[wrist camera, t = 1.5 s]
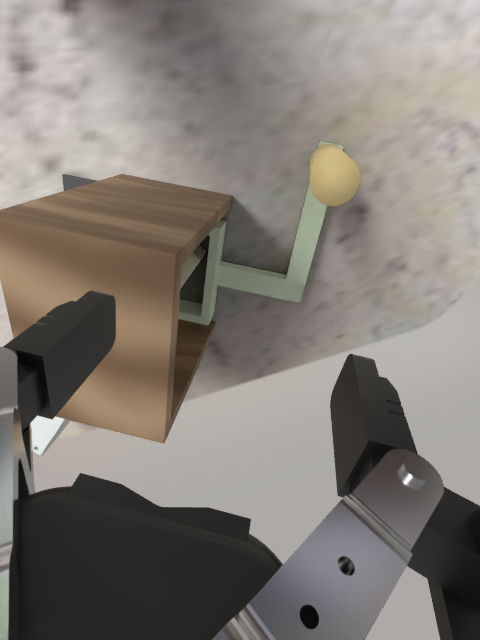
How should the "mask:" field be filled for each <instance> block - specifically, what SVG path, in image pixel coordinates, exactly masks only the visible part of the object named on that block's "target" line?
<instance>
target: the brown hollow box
mask: <svg viewBox="0 0 480 640" xmlns="http://www.w3.org/2000/svg"><path fill="white" fill-rule="evenodd" d="M232 197H233V196H230V195H225V194H220V193H215V192H210V191H205V190H200V189H195V188H190V187H185V186H180V185H175V184H170V183H164V182H159V181H154V180H149V179H144V178H139V177H134V176H129V175H124V174H121V175H117V176H114V177H110V178H107V179H104V180H100V181H97V182H94V183H90V184H87V185H83V186H80V187H77V188H73V189H70V190H67V191H63V192H60V193H56V194H53V195H50V196H46V197H43V198H40V199H36V200H33V201H29V202H26V203H23V204H19V205H16V206H12V207H9V208H6V209H2V210H0V279H1V284H2V288H3V293H4V297H5V302H6V306H7V311H8V315H9V320H10V324H11V329H12V333H13V338H15V337H17V336H18V335H19V334H21V333H22V332H23V331H25V330H26V329H27V328H29V327H30V326H31V325H33V324H34V323H35V324H36V322H37V321H38V320H39V319H40V318H42V317H43V316H44V317H45V315H46V314H47V313H48V312H50V311H51V310H52V309H54V308H55V307H56V306H59V305H61V304H64V303H67V302H69V301H77V300H78V299H79V298H81V297H82V296H83V295H84V294H86V293H87V292H88V291H90V290H92V291H96V292H100V293H105V294H109V295H113V296H114V297H115V301H116V338H115V342H114V345H113V347H112V349H111V350H110V352H109V353H108V354H107V355H106V356H105V358H104V359H103V360H102V361H101V362H100V364H99V365H98V366H97V367H96V368H95V370H94V371H93V372H92V373H91V374H90V375H89V377H88V378H87V379H86V380H85V381H84V383H83V384H82V385H81V386H80V387H79V389H78V390H77V391H76V392H75V393H74V395H73V396H72V397H71V398H70V399H69V401H68V402H67V403H66V404H65V405H64V406H63V408H62V409H61V410H60V411H59V412H58V414H57V415H56V416H55V417H59V418H63V419H67V420H71V421H75V422H79V423H83V424H87V425H92V426H96V427H100V428H104V429H108V430H112V431H116V432H120V433H124V434H128V435H132V436H136V437H140V438H144V439H148V440H152V441H156V442H160V443H165V441H166V438H167V436H168V434H169V431H170V429H171V427H172V424H173V422H174V420H175V418H176V415H177V413H178V411H179V409H180V406H181V404H182V402H183V400H184V397H185V395H186V393H187V391H188V388H189V386H190V384H191V381H192V379H193V377H194V375H195V372H196V370H197V368H198V366H199V363H200V361H201V359H202V356H203V354H204V352H205V350H206V347H207V345H208V343H209V341H210V338H211V336H212V334H213V331H214V327H215V322H211V321H210V323H209V325H203V324H199V323H194V322H190V321H186V320H181V319H178V313H179V300H180V286H181V272H182V264H183V263H184V262H185V261H186V259H187V258H188V257H189V256H190V255H191V254H192V253H193V251H194V250H195V249H196V248H197V247H198V246H199V244H200V243H201V242H202V241H203V240H204V239H205V237H206V236H207V235H208V234H209V233H210V232H211V230H212V229H213V228H214V227H215V226H216V225H217V223H218V222H219V221H220V220H221V219H222V218H223V216H224V215H225V214H226V213H227V212H228V211H229V209H230V208H231V204H232Z"/></svg>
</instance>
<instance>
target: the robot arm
mask: <svg viewBox="0 0 480 640" xmlns="http://www.w3.org/2000/svg"><path fill="white" fill-rule="evenodd" d="M115 338H116V301H115V297H114V296H113V295H109V294H105V293H100V292H96V291H92V290H90V291H88V292H87V293H86V294H84V295H83V296H82V297H81V298H79V299H78V300H77V301H69V302H67V303H64V304H61V305H59V306H56V307H55V308H54V309H52V310H51V311H50V312H48V313H47V314H46V315H45V317H44V316H43V317H42V318H40V319H39V320H38V321H37V322H36V324H35V323H34V324H33V325H31V326H30V327H29V328H27V329H26V330H25V331H23V332H22V333H21V334H19V335H18V336H17V337H15V338H14V339H13V340H11V341H10V342H9V343H8V344H6V345H5V346H4V347H0V640H365V638H366V637H367V635H368V633H369V631H370V630H371V628H372V626H373V624H374V623H375V621H376V619H377V617H378V616H379V614H380V612H381V610H382V608H383V607H384V605H385V603H386V601H387V600H388V598H389V596H390V594H391V593H392V591H393V589H394V587H395V586H396V584H397V582H398V580H399V579H400V577H401V575H402V573H403V572H404V570H405V568H406V566H408V567H410V568H411V569H413V570H415V571H416V572H418V573H419V574H421V575H423V576H424V577H426V578H427V579H428V583H429V588H430V593H431V598H432V602H433V607H434V611H435V616H436V621H437V626H438V631H439V635H440V640H480V506H479V505H477V504H475V503H473V502H471V501H469V500H468V499H466V498H464V497H462V496H460V495H458V494H456V493H454V492H452V491H450V490H449V489H447V488H446V487H444V484H443V481H442V479H441V477H440V475H439V473H438V472H437V470H436V469H435V468H434V467H433V466H432V465H431V464H430V463H429V462H428V461H427V460H425V459H424V458H423V457H421V456H420V455H418V453H417V450H416V448H415V444H414V441H413V438H412V436H411V432H410V430H409V426H408V423H407V420H406V417H404V411H403V408H402V406H401V402H400V399H399V396H398V393H397V391H396V389H395V388H394V387H393V385H392V384H391V383H390V382H389V381H388V379H387V378H383V377H379V375H378V371H377V368H376V364H375V361H374V360H373V359H370V358H366V357H362V356H357V355H353V354H349V355H348V357H347V359H346V361H345V363H344V366H343V368H342V370H341V372H340V375H339V377H338V379H337V382H336V384H335V386H334V389H333V392H332V396H331V403H330V408H331V421H332V433H333V444H334V457H335V469H336V480H337V492H338V496H340V497H344V498H343V499H342V500H341V501H340V502H339V503H338V504H337V505H336V507H334V508H333V510H332V511H331V512H330V513H329V514H328V515H327V516H326V517H325V519H324V520H323V521H322V522H321V523H320V524H319V525H318V526H317V527H316V529H315V530H314V531H313V532H312V533H311V534H310V535H309V536H308V538H307V539H306V540H305V541H304V542H303V543H302V544H301V545H300V547H299V548H298V549H297V550H296V551H295V552H294V554H292V555H291V557H290V558H289V559H288V560H287V561H286V562H285V563H284V564H282V563H281V561H280V560H279V559H278V558H277V557H276V555H275V554H274V553H273V552H272V551H271V550H270V549H269V548H268V547H267V546H266V545H265V544H263V543H262V542H261V541H259V540H258V539H257V538H255V537H253V536H252V535H250V534H249V529H250V522H251V519H249V518H245V517H241V516H238V515H234V514H230V513H226V512H223V511H219V510H215V509H211V508H191V507H189V508H188V507H185V508H184V507H181V508H179V507H176V508H175V507H160V506H157V505H155V504H153V503H152V502H150V501H149V500H147V499H145V498H144V497H142V496H140V495H139V494H137V493H135V492H134V491H132V490H130V489H129V488H127V487H125V486H124V485H122V484H119V483H115V482H111V481H108V480H104V479H100V478H97V477H93V476H89V475H86V474H82V473H80V474H79V476H78V478H77V479H76V481H75V482H74V484H73V485H72V487H59V488H53V489H48V490H43V491H40V492H37V493H35V488H34V474H33V473H34V472H33V450H32V429H31V424H30V423H31V422H32V421H33V420H34V419H35V418H36V416H41V417H45V418H48V419H52V420H53V418H54V417H55V416H56V415H57V414H58V412H59V411H60V410H61V409H62V408H63V406H64V405H65V404H66V403H67V402H68V401H69V399H70V398H71V397H72V396H73V395H74V393H75V392H76V391H77V390H78V389H79V387H80V386H81V385H82V384H83V383H84V381H85V380H86V379H87V378H88V377H89V375H90V374H91V373H92V372H93V371H94V370H95V368H96V367H97V366H98V365H99V364H100V362H101V361H102V360H103V359H104V358H105V356H106V355H107V354H108V353H109V352H110V350H111V349H112V347H113V345H114V342H115Z"/></svg>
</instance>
